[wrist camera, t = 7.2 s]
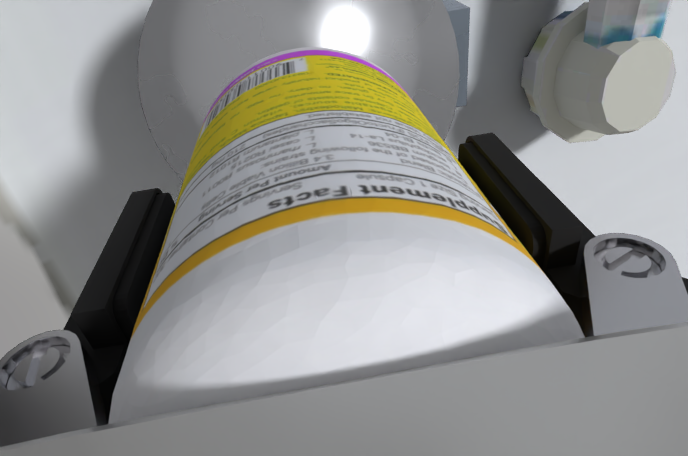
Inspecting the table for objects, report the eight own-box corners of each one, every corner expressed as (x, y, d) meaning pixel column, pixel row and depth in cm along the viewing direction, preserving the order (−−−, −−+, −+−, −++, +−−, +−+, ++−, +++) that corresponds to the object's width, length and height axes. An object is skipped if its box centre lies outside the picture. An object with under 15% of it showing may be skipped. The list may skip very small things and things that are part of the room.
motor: (124, -68, 19) (75, -59, 14) (442, -114, 19) (496, -121, 14) (210, 189, 25) (196, 251, 21) (441, 150, 26) (477, 203, 21)
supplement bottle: (377, 255, 17) (551, 836, 6) (188, 222, 15) (-13, 950, 5) (455, 75, 13) (1122, 686, 3) (221, 4, 12) (-290, 916, 1)
